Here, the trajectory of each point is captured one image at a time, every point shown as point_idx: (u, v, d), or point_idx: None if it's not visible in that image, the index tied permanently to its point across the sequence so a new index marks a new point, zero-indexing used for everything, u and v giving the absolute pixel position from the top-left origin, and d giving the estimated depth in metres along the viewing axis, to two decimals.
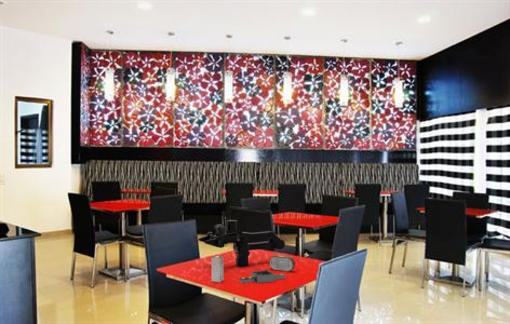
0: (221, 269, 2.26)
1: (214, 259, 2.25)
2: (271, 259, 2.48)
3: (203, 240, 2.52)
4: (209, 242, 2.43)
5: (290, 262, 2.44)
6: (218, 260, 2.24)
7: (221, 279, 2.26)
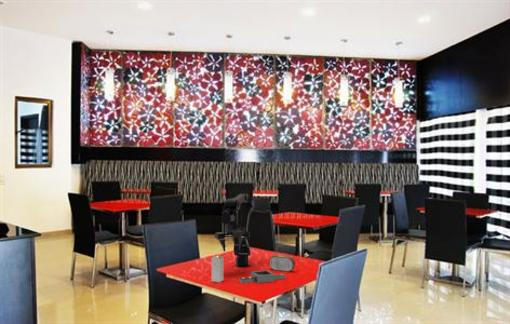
0: (221, 269, 2.26)
1: (214, 259, 2.25)
2: (271, 259, 2.48)
3: None
4: None
5: (290, 262, 2.44)
6: (218, 260, 2.24)
7: (221, 279, 2.26)
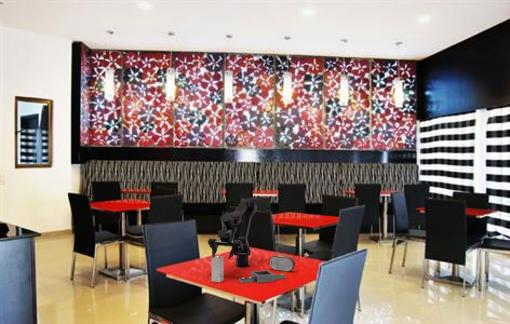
0: (221, 269, 2.26)
1: (214, 259, 2.25)
2: (271, 259, 2.48)
3: (214, 253, 2.34)
4: (232, 254, 2.30)
5: (290, 262, 2.44)
6: (218, 260, 2.24)
7: (221, 279, 2.26)
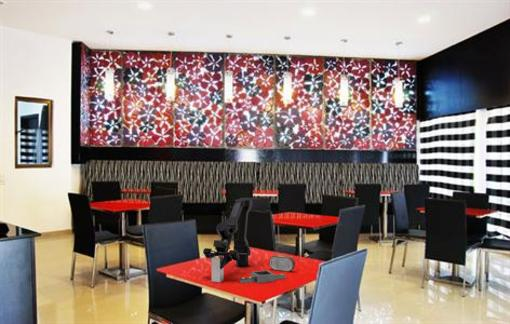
0: (221, 269, 2.26)
1: (214, 259, 2.25)
2: (271, 259, 2.48)
3: None
4: (224, 264, 2.26)
5: (290, 262, 2.44)
6: (218, 260, 2.24)
7: (221, 279, 2.26)
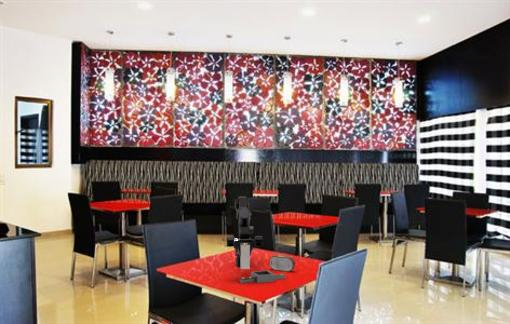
0: None
1: (244, 246, 2.23)
2: (271, 259, 2.48)
3: None
4: (251, 251, 2.26)
5: (290, 262, 2.44)
6: (248, 247, 2.23)
7: None
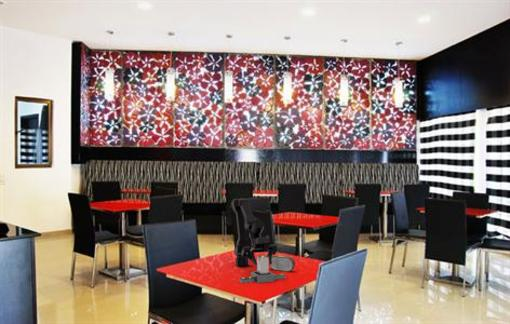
0: None
1: (263, 259, 2.25)
2: None
3: None
4: None
5: (290, 262, 2.44)
6: (267, 259, 2.26)
7: None
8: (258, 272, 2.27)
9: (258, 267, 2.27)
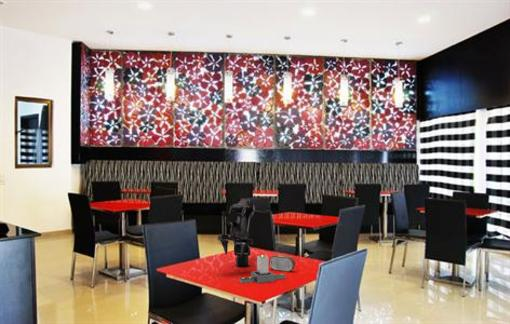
0: None
1: (263, 259, 2.25)
2: (271, 259, 2.48)
3: None
4: None
5: (290, 262, 2.44)
6: (267, 259, 2.26)
7: None
8: (258, 272, 2.27)
9: (258, 267, 2.27)
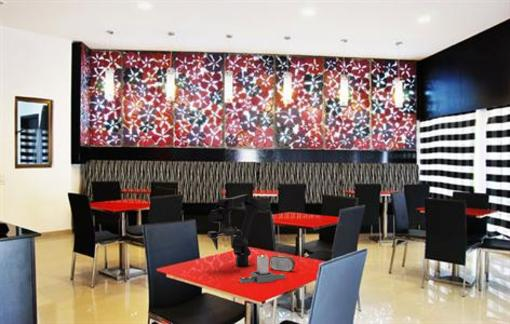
0: None
1: (263, 259, 2.25)
2: (271, 259, 2.48)
3: None
4: None
5: (290, 262, 2.44)
6: (267, 259, 2.26)
7: None
8: (258, 272, 2.27)
9: (258, 267, 2.27)
